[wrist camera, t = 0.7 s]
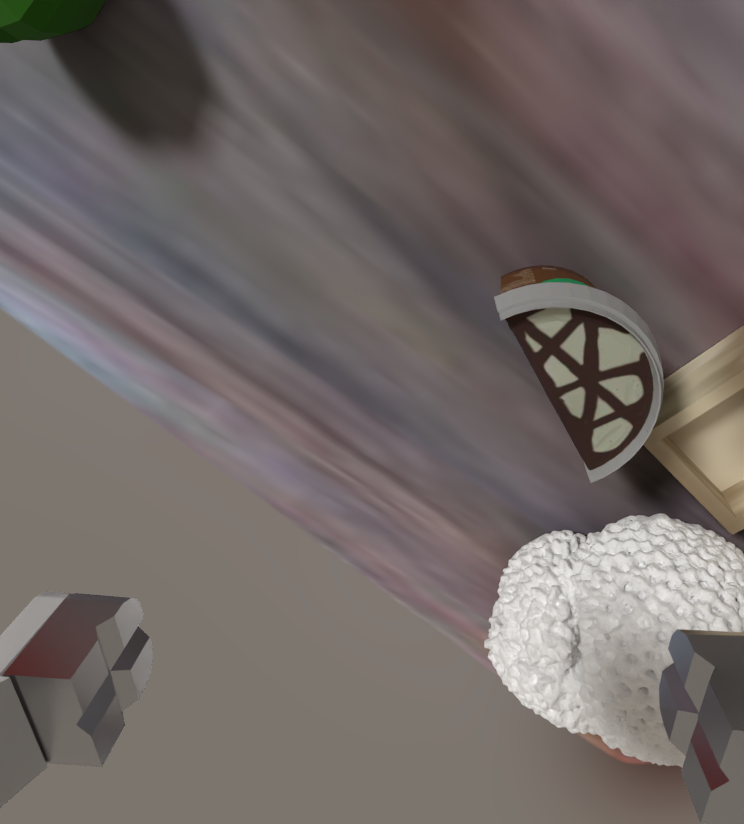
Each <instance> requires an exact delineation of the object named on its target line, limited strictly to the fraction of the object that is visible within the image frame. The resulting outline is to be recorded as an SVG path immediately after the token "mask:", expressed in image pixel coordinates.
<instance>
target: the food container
mask: <svg viewBox="0 0 744 824" xmlns="http://www.w3.org/2000/svg"><path fill="white" fill-rule="evenodd" d="M494 299H495V303H496V307H497V311H498V313H499V315H500V320H503V319H506V321H507V322H508V325H509V327H510V329H511V330H512V331H513V333H514V335H515V336H516V338H517V340H518V342H519V344H520V345H521V347H522V349H523V351H524V353H525V355H526V357H527V358H528V360H529V362H530V364H531V366H532V368H533V369H534V371H535V373H536V375H537V377H538V379H539V381H540V383H541V384H542V386H543V388H544V390H545V392H546V394H547V396H548V398H549V400H550V402H551V403H552V405H553V407H554V408H555V410H556V412H557V414H558V415H559V417H560V419H561V421H562V423H563V424H564V426H565V428H566V430H567V432H568V434H569V435H570V437H571V439H572V441H573V443H574V445H575V446H576V448H577V450H578V452H579V454H580V456H581V457H582V459H583V461H584V464H585V468H586V471H587V474H588V477H589V480H590V483H592V482H595V481H597V480H599V479H601V478H604V477H606V476H607V475H609V474H610V473H612V472H614V471H615V470H617V469H619V468H620V467H621V466H622V465H624V464H625V463H626V462H627V461H629V460H630V459H631V458H632V457H633V456H634V455H635V454H636V453H637V451H638V450H639V449H640V448H641V447H642V446H643V444H644V443H645V441H646V440H647V438H648V437H649V435H650V434H651V431H652V429H653V427H654V425H655V423H656V421H657V418H658V416H659V412H660V409H661V405H662V401H663V391H664V379H663V369H662V361H661V354H660V351H659V348H658V345H657V342H656V339H655V338H654V336H653V334H652V332H651V331H650V329H649V327H648V325H647V324H646V323H645V322H644V321H643V319H642V318H641V317H640V316H639V315H638V314H637V313H636V312H635V311H634V310H633V309H632V308H630V307H629V306H628V305H627V304H625V303H624V302H623V301H621V300H619V299H618V298H616V297H614V296H612V295H610V294H608V293H607V292H604V291H601V290H598V289H596V287H595V286H594V285H593V284H592V283H591V282H589V281H588V280H587V279H586V278H584V277H583V276H581V275H579V274H577V273H575V272H573V271H571V270H568V269H565V268H561V267H555V266H532V267H525V268H522V269H518V270H515V271H512V272H510V273H508V274H506V275H503V276H501V291H500V295H498V296H495V297H494Z"/></svg>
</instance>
